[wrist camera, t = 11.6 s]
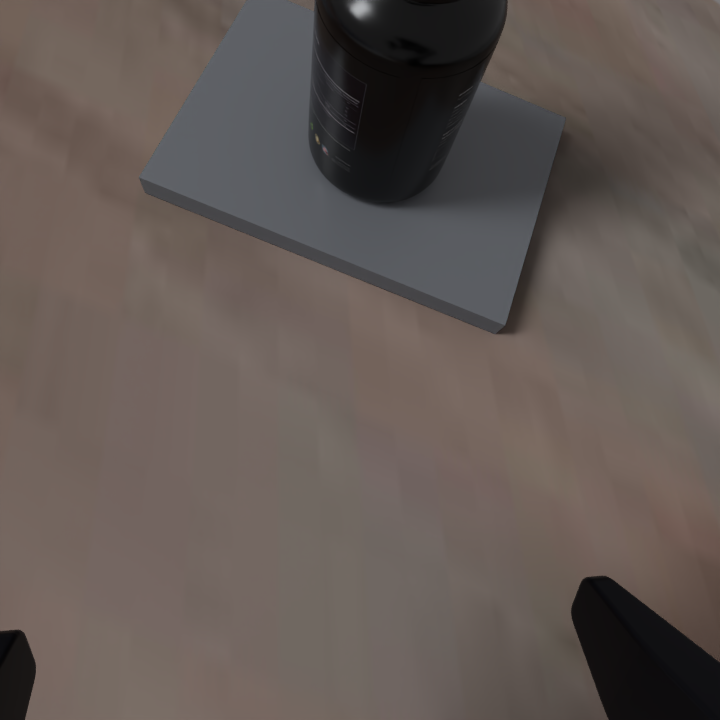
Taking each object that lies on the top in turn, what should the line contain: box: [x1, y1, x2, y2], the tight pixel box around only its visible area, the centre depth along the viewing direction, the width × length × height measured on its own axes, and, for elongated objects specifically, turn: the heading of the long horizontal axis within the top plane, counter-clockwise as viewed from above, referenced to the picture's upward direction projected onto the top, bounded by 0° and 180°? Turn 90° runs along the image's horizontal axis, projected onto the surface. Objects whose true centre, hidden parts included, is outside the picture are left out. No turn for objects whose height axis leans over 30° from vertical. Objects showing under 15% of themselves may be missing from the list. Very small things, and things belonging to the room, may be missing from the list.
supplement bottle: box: [308, 0, 508, 203], centre depth 21 cm, size 7×7×12 cm
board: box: [139, 0, 566, 334], centre depth 27 cm, size 18×13×1 cm
